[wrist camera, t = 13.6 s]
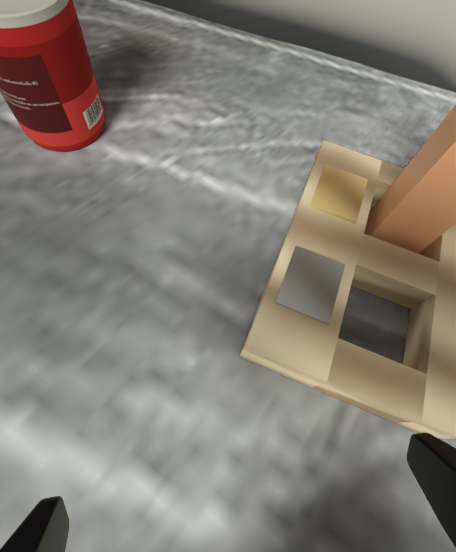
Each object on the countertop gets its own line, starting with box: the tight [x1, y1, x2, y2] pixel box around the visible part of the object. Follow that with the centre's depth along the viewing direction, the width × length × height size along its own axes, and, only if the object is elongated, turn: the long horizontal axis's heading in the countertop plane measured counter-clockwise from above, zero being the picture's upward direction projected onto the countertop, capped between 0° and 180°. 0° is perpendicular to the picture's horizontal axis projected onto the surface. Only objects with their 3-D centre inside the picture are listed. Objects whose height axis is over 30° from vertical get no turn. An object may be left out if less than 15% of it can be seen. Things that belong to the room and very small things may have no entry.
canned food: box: [0, 0, 105, 151], centre depth 26 cm, size 8×8×11 cm
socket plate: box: [239, 141, 456, 439], centre depth 25 cm, size 20×14×3 cm
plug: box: [364, 105, 456, 254], centre depth 23 cm, size 4×4×13 cm
